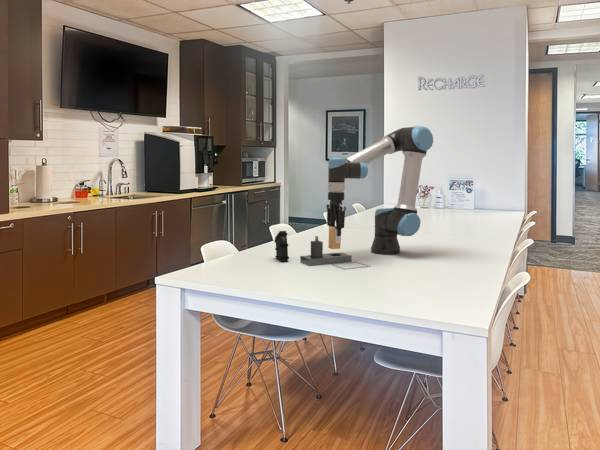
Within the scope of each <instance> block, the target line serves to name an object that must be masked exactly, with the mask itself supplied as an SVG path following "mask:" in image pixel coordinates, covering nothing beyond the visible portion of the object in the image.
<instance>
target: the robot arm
mask: <svg viewBox="0 0 600 450" xmlns="http://www.w3.org/2000/svg"><path fill="white" fill-rule="evenodd" d="M433 144H434V135H433V133H432V132H431V130H430V129H429V128H428V127H427V126H419V125H417V126H411V127H410V126H409V127H408V126H407V127H401V128H399V129H396V130H394V131H393V132H391V133H390V132H389V134H387V135H384V136H383V137H382V138H381V140H379V141H377V142H375V143H373V144H372V145H369V146H368V147H365V148H364V149H361V150H360V151H358V152H356V153H354V154H352V155H350V156H347V157H346V158H345V157H330V158H329V160H328V167H327V168H328V175H327V176H328V177H327V178H328V179H327V180H328V182H327V183H328V184H327V188H328V189H327V190H328V192H327V200H328V201H329V204H326V225H327V226H328V228H329V227H331V226H336V228H335V243H340V244H341V243H342V229H344V228H345V219H346V218H345V217H346V208H347V207H346V206H345V205H343V201H344V200H345V187H346V186H345V182H346V179H350V180H351V179H357V180H360V179H365V178H366V177H367V176H368V173H369V167H368V165H369V164H371V163H373V162H374V161H377V160H379V159H381V158H382V157H384V156H387V155H388V154H389V155H392V154H394V153H397V152H401V153H402V154H403V156H404V158H403V159H404V160H403V167H402V173H401V178H400V186H399V193H398V199H397V204H396V205H395V206H393V207H390V208H389V207H388V208H377V209H375V213H374V238H373V241H372V244H371V246H370V253H374V254H378V255H396V254H400V253H401V247H400V244H399V239H398V236H401V237H412V236H414V235H415V234H416V233H417V232H418V231H419V230H420V227H421V219H420V216H419V214H418V209H417V207H416V202H417V197H418V188H419V183H420V176H421V171H422V170H421V169H422V164H423V159H424V158H425V157H426V156H427V151H429V150H430V149H431V148H432V147H433Z"/></svg>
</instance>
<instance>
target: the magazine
mask: <svg viewBox="0 0 600 450" xmlns="http://www.w3.org/2000/svg"><path fill="white" fill-rule="evenodd" d="M287 236H288V233H287V230H280V231H278V233H277V234H276V236H274V242H273V243H275V248H274V250H275V253H276V254H275V259H276V260H277V261H279V262H280V263H289V259H290V256H289V252H288V251H289V250H288V249H289V248H288V247H289V243H288V237H287Z"/></svg>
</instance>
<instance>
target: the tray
mask: <svg viewBox="0 0 600 450" xmlns="http://www.w3.org/2000/svg"><path fill="white" fill-rule="evenodd" d="M353 263H354V264H355V263H356V264H359V265H362V266H355V267H348V268H346V267H345V268H344V267H342V266H339V265H344V264H345V265H346V264H353ZM329 265H330V266H333V267H336V268H338V269H341V270H344V271H345V270H353V269H354V270H355V269H363V268H371V267H372V265H370V264H369V265H368V264H366V263H362V262H359V261H357V260H355V261H352V262H346V263H336V264H329Z"/></svg>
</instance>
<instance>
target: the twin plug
mask: <svg viewBox="0 0 600 450" xmlns="http://www.w3.org/2000/svg"><path fill="white" fill-rule="evenodd" d="M323 247H324V242H323V241H321V240H319V236H318V235H315V236H314V240H310V255H311V257H313V258H320V257H323V254H324V253H323V251H324V248H323Z"/></svg>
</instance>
